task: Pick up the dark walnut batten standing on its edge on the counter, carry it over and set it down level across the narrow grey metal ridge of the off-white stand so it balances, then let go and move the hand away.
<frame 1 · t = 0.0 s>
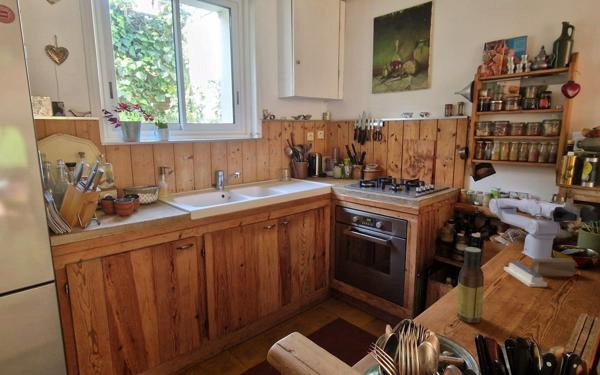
hand: (586, 217, 117), 22 cm above the table, tool horizontal, fingers open, 7 cm apart
sauce bottle: (467, 318, 94), on the table
walnut batten: (551, 274, 123), on the table
ridge stand: (524, 277, 120), on the table
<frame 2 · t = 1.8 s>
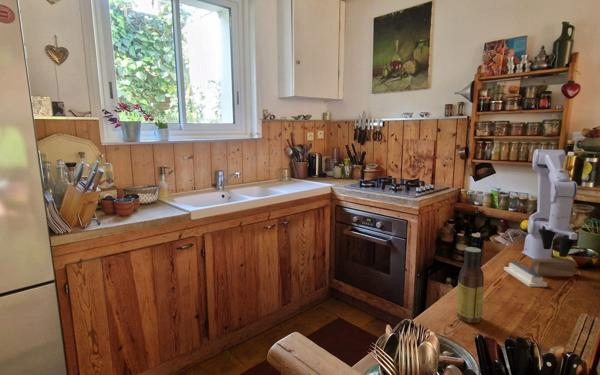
hand: (554, 252, 122), 8 cm above the table, tool pointing down, fingers open, 7 cm apart
nothing on the table moved.
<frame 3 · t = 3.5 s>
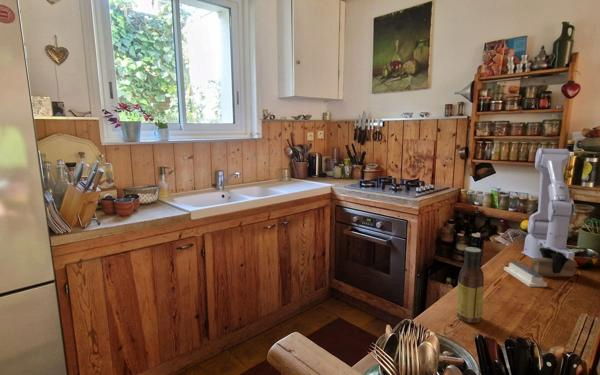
hand: (552, 270, 123), 1 cm above the table, tool pointing down, fingers closed on walnut batten, 3 cm apart
walnut batten: (551, 274, 123), on the table, touching gripper
everything else where it was.
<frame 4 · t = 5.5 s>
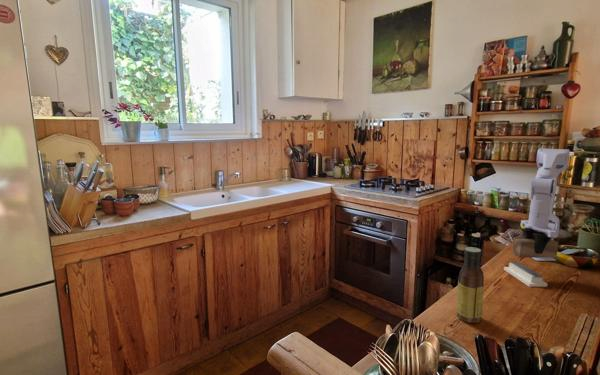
hand: (534, 251, 119), 10 cm above the table, tool pointing down, fingers closed on walnut batten, 3 cm apart
walnut batten: (534, 255, 119), point 8 cm above the table, touching gripper
everything else where it was.
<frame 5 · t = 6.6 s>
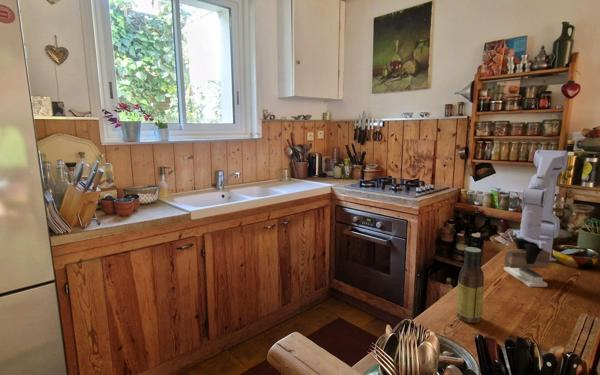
hand: (526, 261, 119), 6 cm above the table, tool pointing down, fingers closed on walnut batten, 3 cm apart
walnut batten: (526, 266, 119), point 4 cm above the table, touching gripper
everything else where it was.
when the fingers open (6 cm above the table, at t = 7.4 s): walnut batten stays where it is, resting on ridge stand.
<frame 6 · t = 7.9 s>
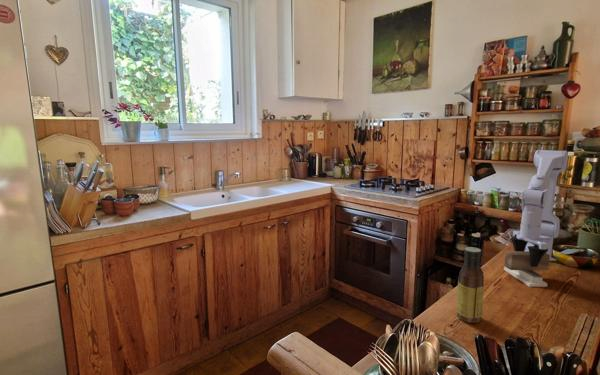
hand: (526, 262, 119), 6 cm above the table, tool pointing down, fingers open, 7 cm apart
walnut batten: (525, 268, 119), point 3 cm above the table, touching ridge stand
everything else where it was.
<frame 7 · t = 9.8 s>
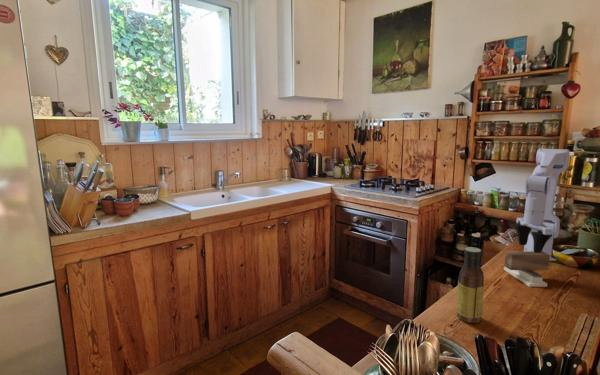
hand: (529, 248, 120), 10 cm above the table, tool pointing down, fingers open, 7 cm apart
nothing on the table moved.
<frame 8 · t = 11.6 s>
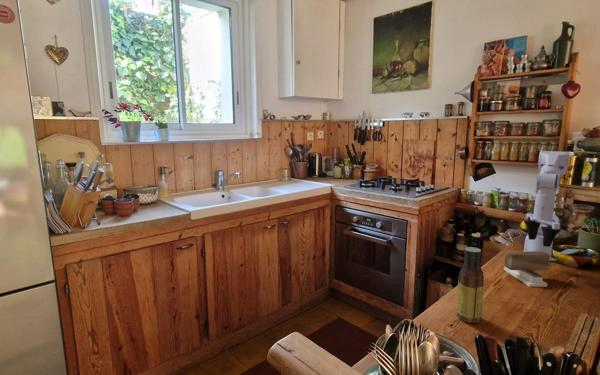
hand: (539, 242, 125), 10 cm above the table, tool pointing down, fingers open, 7 cm apart
nothing on the table moved.
at the end: walnut batten 0.1 cm off-centre on the ridge stand, point 3.5 cm above the ridge stand's base; walnut batten tilted 0°; the gripper is holding nothing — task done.
